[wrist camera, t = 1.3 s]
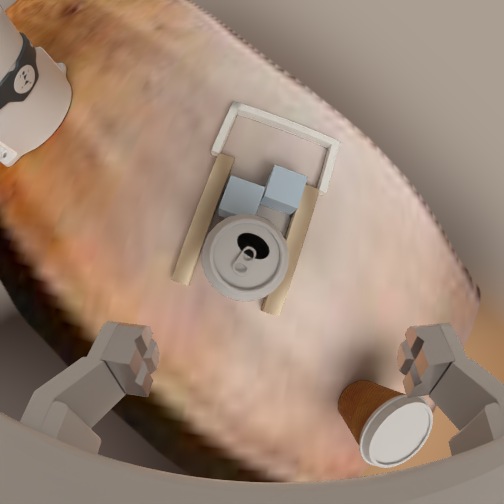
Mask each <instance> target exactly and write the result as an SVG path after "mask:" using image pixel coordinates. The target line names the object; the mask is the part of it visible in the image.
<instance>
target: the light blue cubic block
mask: <svg viewBox="0 0 504 504" xmlns="http://www.w3.org/2000/svg"><path fill="white" fill-rule="evenodd" d="M307 178H308V177H306V176H304V175H301V174H299V173H296V172H294V171H291V170H288V169H286V168H283V167H280V166H278V165H275V166H274V167H273V169H272V171H271V173H270V175H269V177H268V180H267V183H266V186H265V190H264V193H263V196H262V198H261V201H260V205H263V206H266V207H269V208H271V209H274V210H277V211H279V212H282V213H285V214H288V215H291V214H292V213H293V212H294V211H296V210H297V209H298V207H299V204H300V201H301V197H302V194H303V191H304V188H305V184H306V181H307Z"/></svg>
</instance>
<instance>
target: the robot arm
mask: <svg viewBox="0 0 504 504" xmlns="http://www.w3.org/2000/svg"><path fill="white" fill-rule="evenodd" d="M66 72H67V67H66V65H65V64H64V63H62V62H60V63H55V62H54V60H53V59H52V58H51V57H50V56H49V55H48V54H47V52H46V51H45V50H44V49H43V48H42V47H33V45H32V43H31V41H30V40H29V38H27V37H26V36H25V35H24V34H23V33H20V32H18V30H17V29H16V27H15V26H14V24H13V23H12V21H11V20H10V19H9V17H8V16H7V14H6V13H5V11H4V10H3V8H2V7H1V6H0V162H2V163H3V164H4V165H5V166H7V167H10V166H12V165H13V164H14V163H15V162H16V161H17V160H18V159H19V158H20V157H21V156H22V155H24V154H26V153H27V152H30V151H32V150H34V149H35V148H37V147H38V146H40V145H41V144H43V143H44V142H45V141H46V140H47V139H48V138H49V137H50V136H51V135H52V134H53V133H54V132H55V131H56V129H57V128H58V127H59V125H60V124H61V122H62V121H63V119H64V117H65V115H66V113H67V111H68V109H69V106H70V102H71V96H72V91H71V86H70V84H69V82H68V80H67V78H66ZM152 335H153V332H152V330H151V328H150V326H145V325H137V324H129V323H121V322H113V321H107V322H106V323H104V325H103V327H102V329H101V330H100V332H99V334H98V336H97V338H96V340H95V342H94V344H93V346H92V348H91V350H90V352H89V354H88V356H87V357H82V358H81V359H79V360H78V361H77V362H75V363H74V364H72V365H71V366H69V367H68V368H67V369H65V370H64V371H63V372H61V373H60V374H58V375H57V376H55V377H54V378H52V379H51V380H50V381H48V382H47V383H45V384H44V385H43V386H41V387H40V388H38V389H37V390H36V391H34V393H33V395H32V397H31V399H30V401H29V403H28V406H27V408H26V410H25V412H24V414H23V416H22V419H21V421H20V422H18V421H16V420H14V419H12V418H10V417H9V416H7V415H5V414H3V413H1V412H0V504H504V384H503V383H502V382H500V381H499V380H498V379H497V378H495V377H494V376H493V375H492V374H490V373H489V372H488V371H487V370H485V369H484V368H483V367H482V366H480V365H479V364H478V363H476V362H475V361H474V360H473V359H468V358H467V356H466V353H465V351H464V349H463V347H462V345H461V343H460V341H459V339H458V337H457V335H456V333H455V331H454V329H453V327H452V325H451V324H450V323H440V324H429V325H420V326H410V327H409V328H408V329H407V331H406V333H405V336H406V340H405V341H404V342H402V343H401V345H400V347H399V349H398V356H397V361H398V367H399V370H400V372H402V373H403V374H404V375H405V378H404V380H403V384H404V388H405V392H406V395H407V398H411V397H418V396H424V395H429V397H430V398H431V399H432V400H433V401H434V403H435V404H436V405H437V406H438V407H439V408H440V409H441V410H442V411H443V413H444V414H445V415H446V416H447V417H448V418H449V419H450V420H451V422H452V423H453V424H454V425H455V426H456V427H457V428H458V429H459V432H458V433H457V434H456V435H455V436H453V437H452V438H451V440H450V441H449V446H450V450H451V455H452V456H450V457H447V458H444V459H441V460H437V461H434V462H430V463H426V464H423V465H419V466H415V467H411V468H407V469H402V470H397V471H392V472H387V473H382V474H376V475H371V476H364V477H357V478H349V479H340V480H330V481H317V482H296V483H260V482H240V481H227V480H216V479H207V478H199V477H192V476H185V475H180V474H174V473H168V472H163V471H158V470H154V469H149V468H144V467H140V466H136V465H132V464H129V463H125V462H121V461H118V460H114V459H111V458H107V457H104V456H101V455H98V454H97V453H98V450H99V446H100V443H101V439H100V437H99V436H97V434H95V433H94V432H93V431H92V430H91V428H92V427H93V426H94V425H95V424H96V423H97V422H98V421H99V420H100V419H101V418H102V417H103V416H104V415H105V414H106V413H107V412H108V411H109V410H110V409H111V408H112V407H113V406H114V405H115V404H116V403H117V402H118V401H119V400H120V399H121V398H122V397H123V396H124V395H125V393H126V394H132V395H138V396H145V397H148V395H149V392H150V389H151V386H152V382H153V379H152V377H151V375H150V374H152V373H153V372H154V371H155V370H157V366H158V363H159V348H158V345H157V343H156V342H155V341H154V340H153V339H151V338H152Z"/></svg>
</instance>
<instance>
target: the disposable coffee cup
mask: <svg viewBox="0 0 504 504" xmlns="http://www.w3.org/2000/svg"><path fill="white" fill-rule="evenodd" d="M338 410H339V412H340V414H341V416H342V417H343V419H344V421H345V422H346V424H347V426H348V428H349V429H350V431H351V433H352V434H353V436H354V438H355V440H356V441H357V443H358V444H359V446H360V453H361V455H362V458H363V459H364V460H365V461H366V462H367V463H369V464H371V465H375V466H379V467H382V468H385V467H386V468H389V467H393V466H397V465H399V464H402V463H403V462H405V461H407V460H408V459H410V458H411V457H412V456H413V455H414V454H415V453H417V452H418V450H419V449H420V448H421V447H422V446H423V444H424V443H425V441H426V440H427V438H428V436H429V434H430V431H431V428H432V422H433V415H432V412H431V409H430V408H429V406H428V403H427V402H426V400H425V399H424V398H422V397H421V396H418V397H411V398H407V395H406V394H403V393H400V392H397V391H394V390H391V389H389V388H386V387H383V386H380V385H378V384H375V383H372V382H370V381H367V380H360V381H357V382H354V383H352V384H351V385H349V386H348V387H347V388H346V389H345V390H344V391H343V393H342V394H341V396H340V398H339V402H338Z"/></svg>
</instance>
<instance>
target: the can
mask: <svg viewBox="0 0 504 504" xmlns="http://www.w3.org/2000/svg"><path fill="white" fill-rule="evenodd" d="M288 263H289V251H288V248H287V244H286V240H285V238H284V237H283V235H282V234H281V232H280V231H279V229H278V228H277V227H276V226H275V225H273V224H272V223H271V222H270V221H269V220H267V219H264V218H262V217H260V216H257V215H252V214H238V215H234V216H230V217H227V218H226V219H224V220H223V221H221V222H219V223H218V224H216V226H215V227H214V228H213V229H212V230H211V231H210V233H209V234H208V235H207V238H206V240H205V243H204V245H203V250H202V264H203V268H204V272H205V275H206V277H207V279H208V280H209V282H210V283H211V285H212V286H213V287H214V288H215V289H216V290H217V291H219V292H220V293H221V294H222V295H223V296H226V297H228V298H231V299H234V300H236V301H253V300H257V299H261V298H264V297H265V296H267V295H268V294H270V293H271V292H273V291H274V290H276V288H277V287H278V286H279V285H280V283H281V282H282V281H283V279H284V277H285V274H286V272H287V269H288Z"/></svg>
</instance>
